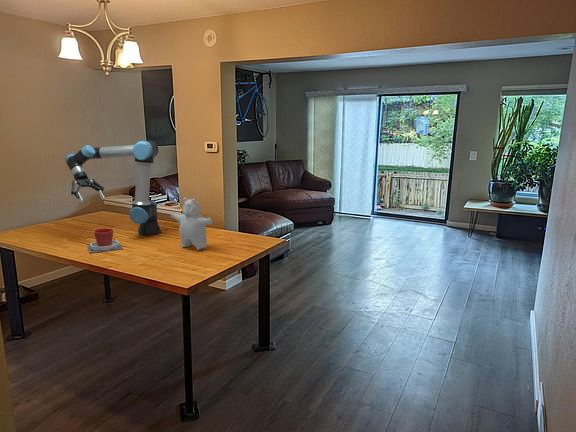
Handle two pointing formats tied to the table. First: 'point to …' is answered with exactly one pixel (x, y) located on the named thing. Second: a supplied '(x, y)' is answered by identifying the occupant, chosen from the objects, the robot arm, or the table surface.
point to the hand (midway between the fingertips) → (93, 200)
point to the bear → (192, 225)
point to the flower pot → (104, 237)
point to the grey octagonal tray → (104, 247)
